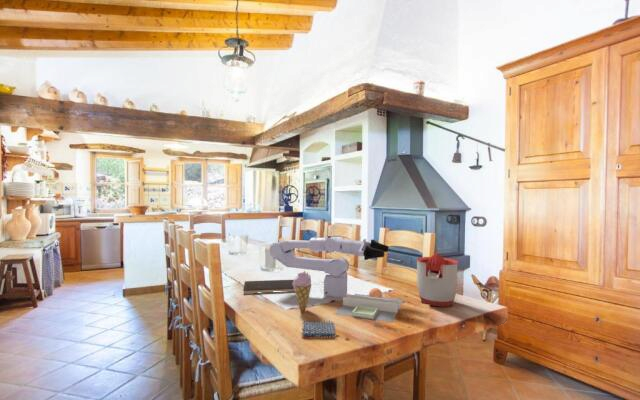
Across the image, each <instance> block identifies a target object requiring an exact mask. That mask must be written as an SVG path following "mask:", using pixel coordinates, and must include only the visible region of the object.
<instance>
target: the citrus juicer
mask: <svg viewBox="0 0 640 400" xmlns="http://www.w3.org/2000/svg"><path fill="white" fill-rule="evenodd" d="M458 264H459V261H458V260H456V259H453V258H448V257H443V256H442V255H441V253H439V252H435V253H434V254H432V255H431V256H421V257H418V258H416V284H417V285H416V286H417V291H418V296H419V298H420V301H421V302H422V303H424V304H425V305H429V306H432V307H433V306H434V307H442V308H447V307H449V306H452V305H453V303H454V301H455V298H456V295H457V290H458Z"/></svg>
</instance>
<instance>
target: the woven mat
mask: <svg viewBox="0 0 640 400" xmlns="http://www.w3.org/2000/svg"><path fill="white" fill-rule="evenodd" d="M335 328H336V327H335V322H333V321H331V320H328V321H325V320H323V321H320V320H319V321H315V320H313V321H310V320H309V321H306V320H304V321H303V322H302V328H301V331H302V332H301V338H302V339H336V338H337V335H336V334H337V333H336V329H335ZM304 337H305V338H304Z"/></svg>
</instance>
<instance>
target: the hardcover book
mask: <svg viewBox="0 0 640 400" xmlns="http://www.w3.org/2000/svg"><path fill="white" fill-rule="evenodd" d="M293 281H294V279H276V280H275V279H271V280H270V279H269V280H245V281H244V284H243V290H242V291H243V295H252V294H254V293H257V294H259V293H258V292H273V291H295V290H294V287H293V284H292V283H293Z"/></svg>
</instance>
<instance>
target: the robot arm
mask: <svg viewBox="0 0 640 400" xmlns="http://www.w3.org/2000/svg"><path fill="white" fill-rule="evenodd" d="M294 249H308V250H309V251H311V252H328V253H330V254H331V253H340V254H341V253H342V254H348V255H353V256H354V255H356V256H358V257H363V258H364V261H368V260H370V259H375V258H376V259H377V258H384V257H385V253H387V252H389V246H388V245H387V244H383V243H380V242H378V241H377V240H375V239H370V241H367V239H366V238H363V240H353V239H345V238H343V239H342V238H338V237H336V236H335V237H334V236H331V237H330V238H329V237H328V236H324V237H318V236H313V237H311V238H310V239H309V240H303V239H302V240H300V239H299V240H298V239H288V240H282V241H279V242H273V243H272V244H271V245H270V246H269V250H268V252H269V254H270V256H271V257H272V259H273V260H276V261H278V262H280V263H281V264H282V265H283V266H285V267H286V268H293V269H299V270H300V269H302V270H309V271H310V270H311V271H317V272H324V273H325V274H326V275H325V276H324V279H323V296H322V298H323V299H324V298H326V297H328V296H329V297H334V298H343V297H346V294H348V270H349V269H350V262H349V261H348V259H346V258H344V257H338V258H336V259H335V258H333V259H330V258H329V259H325V258H314V257H313V258H312V257H305V256H304V257H302V256H295V254H294V252H293V250H294Z"/></svg>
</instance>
